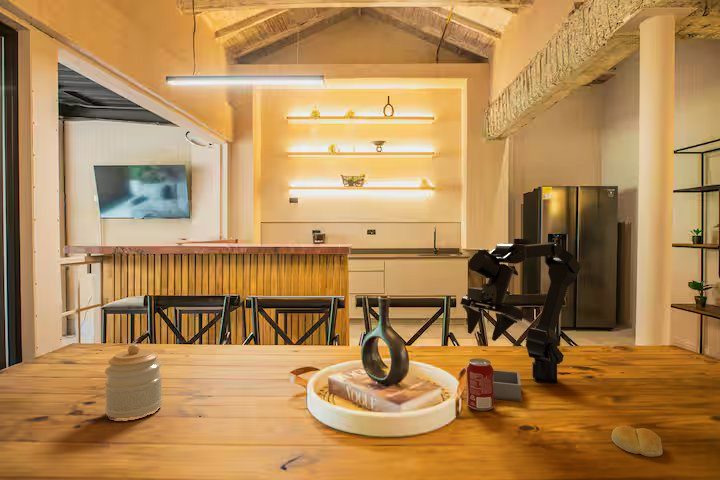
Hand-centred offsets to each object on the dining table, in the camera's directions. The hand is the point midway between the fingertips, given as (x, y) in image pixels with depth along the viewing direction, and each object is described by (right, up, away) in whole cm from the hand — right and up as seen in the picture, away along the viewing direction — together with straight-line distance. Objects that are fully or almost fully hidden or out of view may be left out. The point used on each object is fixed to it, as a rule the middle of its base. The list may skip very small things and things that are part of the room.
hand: (480, 336), depth 114 cm
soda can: (-2, -17, -7) cm, 18 cm away
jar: (-92, -18, -7) cm, 94 cm away
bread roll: (+25, -17, -27) cm, 41 cm away
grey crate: (+6, -16, +3) cm, 18 cm away
